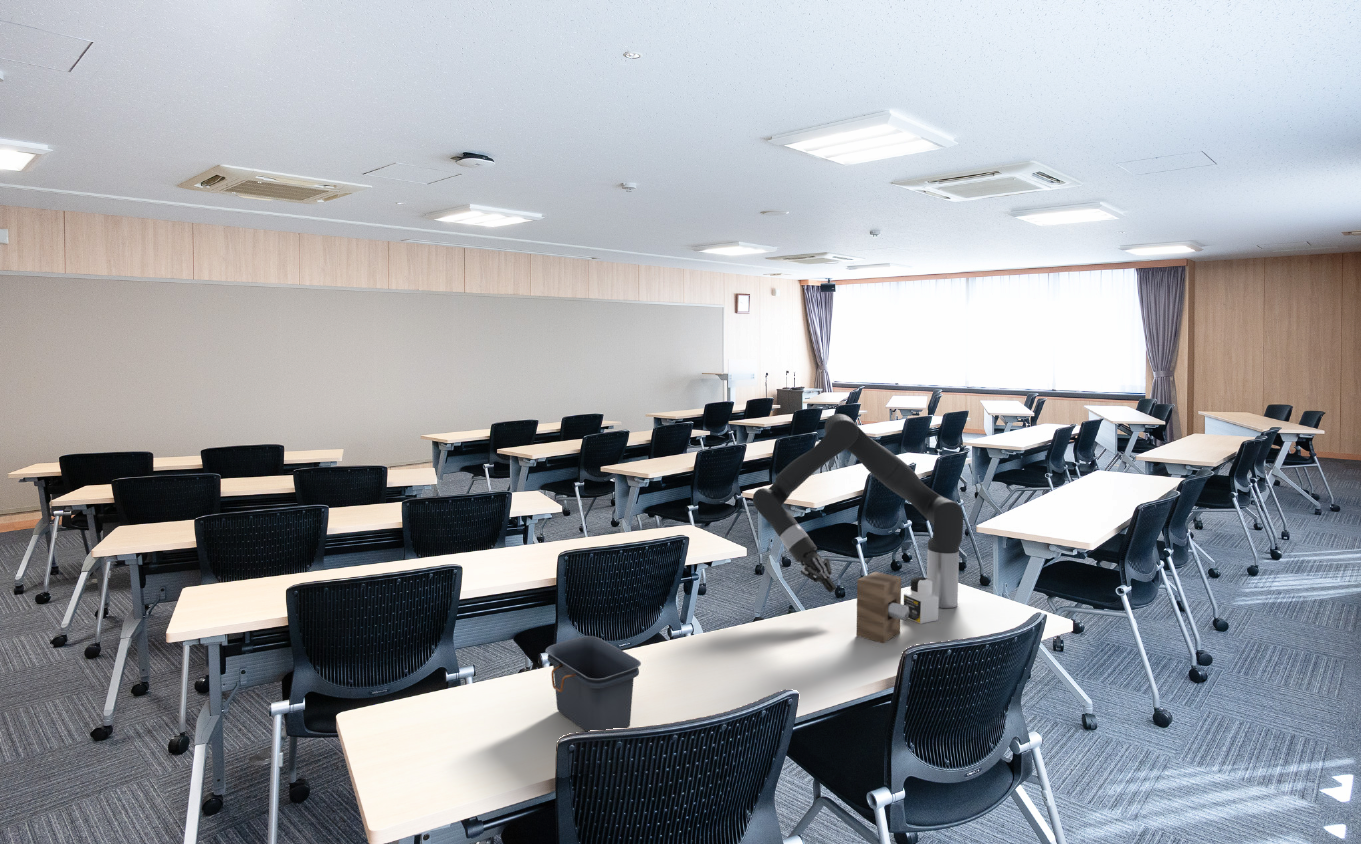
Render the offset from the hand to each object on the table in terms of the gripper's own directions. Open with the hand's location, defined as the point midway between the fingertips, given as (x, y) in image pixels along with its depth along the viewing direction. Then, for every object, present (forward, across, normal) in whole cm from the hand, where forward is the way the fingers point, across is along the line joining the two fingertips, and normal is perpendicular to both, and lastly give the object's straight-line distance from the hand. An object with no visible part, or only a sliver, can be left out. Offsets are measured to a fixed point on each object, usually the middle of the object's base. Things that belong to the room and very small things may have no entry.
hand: (833, 590), depth 218 cm
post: (+17, -1, -4) cm, 18 cm away
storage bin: (+2, -88, +10) cm, 89 cm away
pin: (+15, -1, -9) cm, 17 cm away
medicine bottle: (+20, +19, -6) cm, 28 cm away
